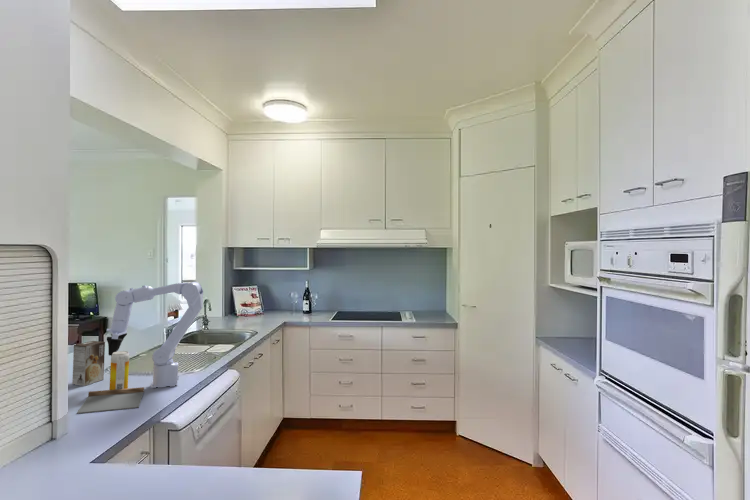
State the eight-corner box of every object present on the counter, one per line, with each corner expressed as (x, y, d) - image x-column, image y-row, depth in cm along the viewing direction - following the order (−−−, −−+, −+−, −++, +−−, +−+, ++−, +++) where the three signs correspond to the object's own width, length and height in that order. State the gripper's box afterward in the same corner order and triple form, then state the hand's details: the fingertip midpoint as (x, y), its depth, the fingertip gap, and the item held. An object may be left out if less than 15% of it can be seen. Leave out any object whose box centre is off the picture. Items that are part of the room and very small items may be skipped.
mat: (143, 392, 160) (143, 391, 160) (138, 407, 145) (138, 406, 145) (88, 397, 153) (88, 396, 153) (76, 413, 137) (76, 412, 137)
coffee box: (91, 378, 175) (93, 340, 175) (104, 379, 174) (106, 341, 174) (71, 384, 166) (73, 344, 166) (84, 386, 165) (86, 345, 165)
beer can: (125, 387, 165) (127, 350, 165) (129, 391, 161) (131, 353, 161) (107, 390, 161) (109, 352, 161) (111, 394, 156) (113, 355, 157)
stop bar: (144, 391, 161) (144, 387, 161) (143, 392, 160) (143, 388, 160) (88, 396, 154) (89, 391, 154) (88, 397, 153) (88, 392, 153)
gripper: (112, 315, 172) (105, 347, 172) (106, 321, 159) (98, 356, 158) (131, 317, 175) (124, 349, 175) (126, 324, 162) (119, 358, 161)
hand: (113, 352), depth 167 cm, fingers open, 7 cm apart
